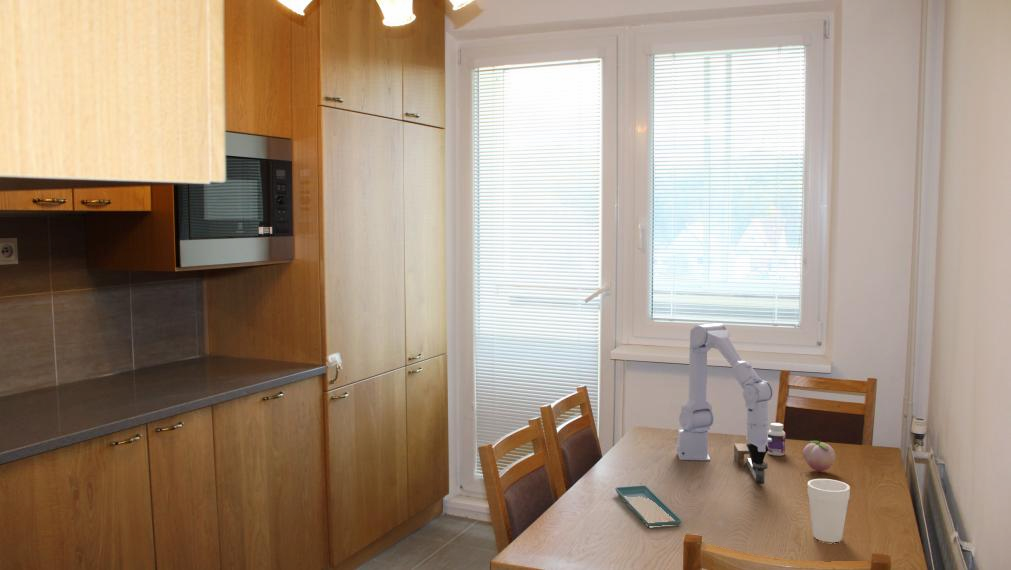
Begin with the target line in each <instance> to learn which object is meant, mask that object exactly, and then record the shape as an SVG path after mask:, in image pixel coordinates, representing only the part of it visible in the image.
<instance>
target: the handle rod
mask: <svg viewBox="0 0 1011 570" xmlns="http://www.w3.org/2000/svg"><path fill="white" fill-rule="evenodd" d="M746 462H747V463H746V465H747V467H748V468H749V470H750V472H751V474H752V476H753V477H754V480H755V483H756V484H758V485H764V484H765V472H766V471H765V470H766V469H768V463H767V462H764V461H763V462H753V467H752V462H751V458H750V457H747V458H746ZM753 468H756V469H753Z"/></svg>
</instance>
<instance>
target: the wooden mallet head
mask: <svg viewBox="0 0 1011 570" xmlns="http://www.w3.org/2000/svg"><path fill="white" fill-rule="evenodd" d="M746 444H747V443H733V445H734V446H733V447H734V449H733V451H734V452H733V459H734V462H735V461H736V462H735V463H737V464H736V466H737V465H738V466H737V467H740V468H741V467H742V466H743V467H742V468H744V467H745V455H749V458H751V456H750V453H749V450H748V447H747V445H746Z"/></svg>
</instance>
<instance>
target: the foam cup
mask: <svg viewBox="0 0 1011 570" xmlns="http://www.w3.org/2000/svg"><path fill="white" fill-rule="evenodd" d="M850 491H851V486H850V485H849V484H848V483H846V482H843V481H840V480H838V479H829V478H814V479H810V480H808V481H807V492H806V493H807V495H808V501H809V502H808V504H809V512H810V520H811V527H812V536H814V537H815V538H816V539H819V540H822V541H828V542H838V541H840V540H841V541H842V539H843V534H844V528H845V522H846V516H847V511H848V504H849V500H850V497H851V496H850V495H851V492H850ZM816 539H815V540H816Z"/></svg>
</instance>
